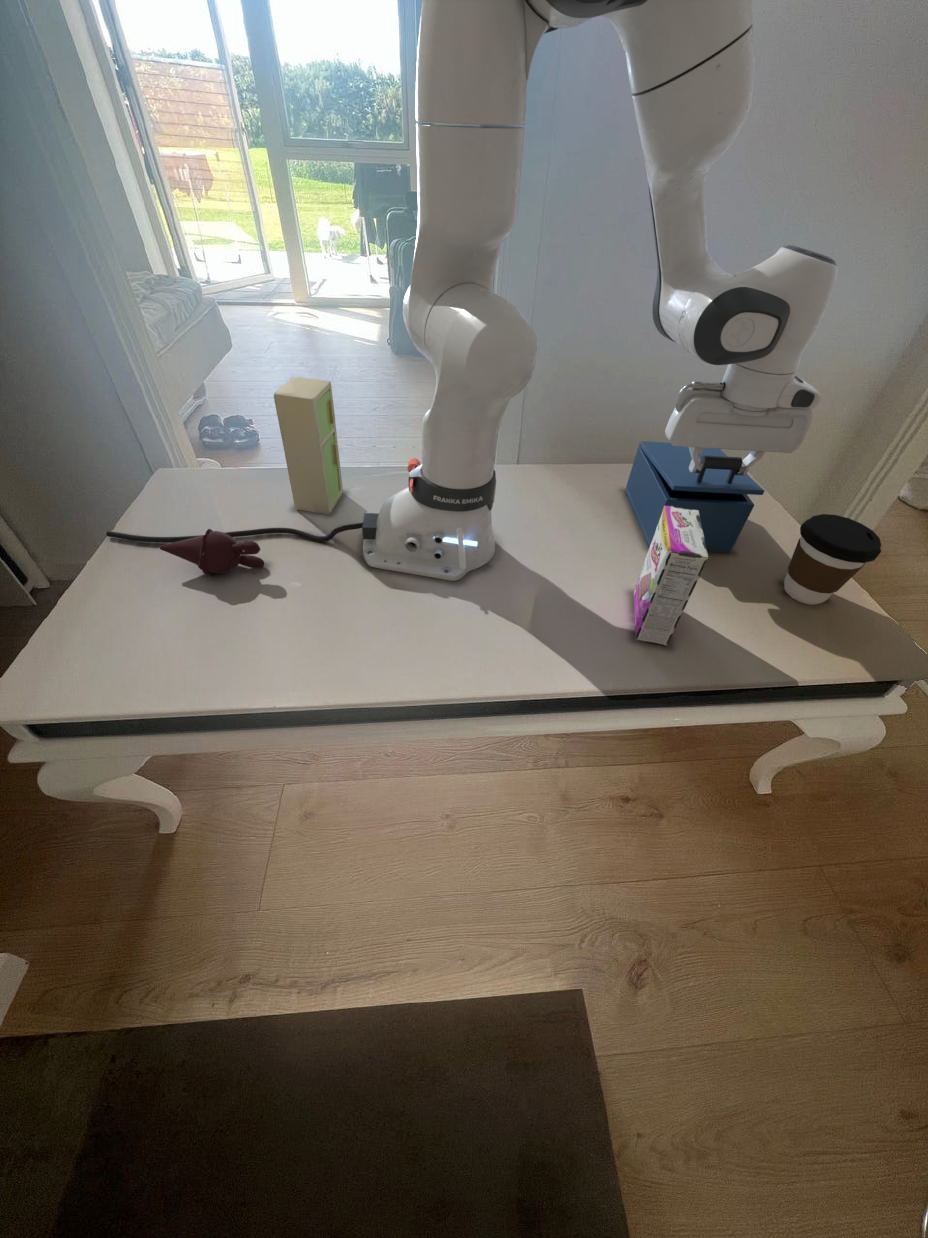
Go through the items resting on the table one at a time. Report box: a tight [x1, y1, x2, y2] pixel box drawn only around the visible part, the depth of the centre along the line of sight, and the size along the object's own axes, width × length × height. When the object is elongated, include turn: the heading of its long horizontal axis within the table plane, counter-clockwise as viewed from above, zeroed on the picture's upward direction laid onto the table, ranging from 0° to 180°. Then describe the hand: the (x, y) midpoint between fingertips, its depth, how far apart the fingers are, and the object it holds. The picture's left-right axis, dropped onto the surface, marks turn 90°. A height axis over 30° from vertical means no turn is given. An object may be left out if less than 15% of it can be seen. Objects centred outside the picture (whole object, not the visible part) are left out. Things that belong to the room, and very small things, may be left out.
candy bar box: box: [632, 506, 709, 647], centre depth 74 cm, size 11×5×16 cm, turn 168°
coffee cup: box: [783, 513, 882, 606], centre depth 82 cm, size 11×11×12 cm
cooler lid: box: [638, 440, 765, 496], centre depth 90 cm, size 21×15×5 cm
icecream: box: [159, 528, 265, 576], centre depth 80 cm, size 7×7×15 cm
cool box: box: [624, 445, 755, 554], centre depth 96 cm, size 20×15×10 cm
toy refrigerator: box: [273, 375, 344, 515], centre depth 90 cm, size 8×7×21 cm
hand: (716, 472), depth 85 cm, fingers closed on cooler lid, 6 cm apart
